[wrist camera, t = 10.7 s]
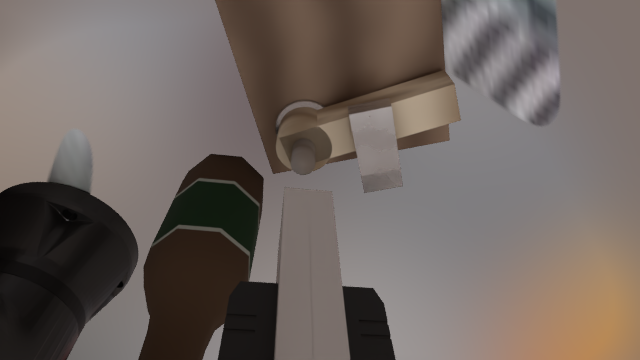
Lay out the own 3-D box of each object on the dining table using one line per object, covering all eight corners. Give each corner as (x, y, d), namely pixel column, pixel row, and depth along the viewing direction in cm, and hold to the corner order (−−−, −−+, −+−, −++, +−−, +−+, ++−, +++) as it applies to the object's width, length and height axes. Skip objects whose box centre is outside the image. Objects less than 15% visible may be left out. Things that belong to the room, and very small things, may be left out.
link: (289, 159, 38) (286, 195, 33) (270, 116, 36) (263, 148, 31) (451, 111, 35) (471, 143, 31) (442, 61, 33) (462, 87, 29)
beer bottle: (248, 227, 45) (189, 497, 25) (175, 198, 43) (46, 466, 23) (281, 171, 41) (243, 437, 21) (203, 136, 39) (77, 393, 19)
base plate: (274, 167, 41) (273, 173, 40) (200, -58, 30) (196, -56, 29) (446, 134, 39) (449, 140, 38) (429, -118, 28) (433, -118, 27)
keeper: (288, 169, 39) (284, 207, 34) (267, 100, 36) (259, 133, 31) (392, 149, 38) (402, 186, 33) (381, 76, 35) (391, 106, 30)
